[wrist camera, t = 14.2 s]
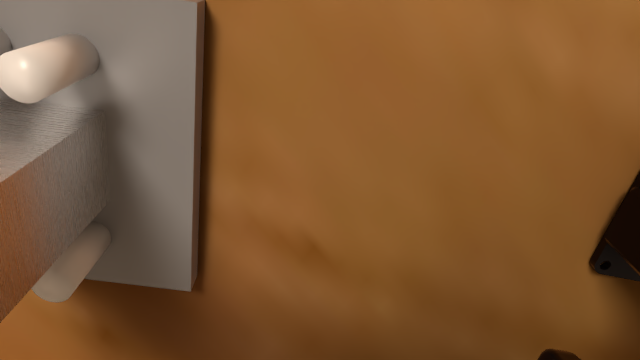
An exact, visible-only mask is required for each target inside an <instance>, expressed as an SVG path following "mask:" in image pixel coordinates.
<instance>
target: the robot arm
mask: <svg viewBox="0 0 640 360" xmlns="http://www.w3.org/2000/svg"><path fill="white" fill-rule="evenodd" d="M604 261H606V262H605V263H604V264H602V265H600V264H601V263H602V262H604ZM590 265H591V266H592V267H593V268H594V270H595V271H596V272H597V273H600V274H604V275H609V276H614V277H620V278H625V279H630V280H635V281H640V173H639V175H638V176H637V178H636V180H635V182H634V183H633V185H632V187H631V189H630V190H629V192H628V194H627V196H626V198H625V199H624V201H623V203H622V205H621V206H620V208H619V210H618V212H617V213H616V215H615V217H614V219H613V221H612V222H611V224H610V226H609V228H608V229H607V231H606V233H605V235H604V236H603V238H602V240H601V242H600V244H599V245H598V247H597V249H596V251H595V252H594V254H593V256H592V258H591V260H590ZM538 360H581V359H580V358H578V357H577V356H576V355H574V354H573V353H570V352H567V351H561V350H555V349H546V350H545V351H543V352H542V353H541V355H540V357H539V358H538Z"/></svg>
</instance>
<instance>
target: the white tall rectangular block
mask: <svg viewBox="0 0 640 360" xmlns="http://www.w3.org/2000/svg"><path fill="white" fill-rule="evenodd" d="M110 200H111V199H110V184H109V169H108V154H107V139H106V124H105V111H101V110H94V109H86V108H79V107H72V106H64V105H57V104H49V103H42V102H35V103H22V102H18V101H16V100H14V99H12V98H5V97H0V323H1V321H2V320H3V319H4V318H5V317H6V316H7V315H8V314H9V313H10V311H11V310H12V309H13V308H14V307H15V306H16V305H17V304H18V303H19V301H20V300H21V299H22V298H23V297H24V296H25V295H26V294H27V292H28V291H29V290H30V289H31V288H32V287H33V286H34V285H35V284H36V282H37V281H38V280H39V279H40V278H41V277H42V276H43V275H44V274H45V272H46V271H47V270H48V269H49V268H50V267H51V266H52V265H53V263H54V262H55V261H56V260H57V259H58V258H59V257H60V256H61V255H62V253H63V252H64V251H65V250H66V249H67V248H68V247H69V246H70V245H71V243H72V242H73V241H74V240H75V239H76V238H77V237H78V236H79V235H80V233H81V232H82V231H83V230H84V229H85V228H86V227H87V226H88V224H89V223H90V222H91V221H92V220H93V219H94V218H95V217H96V216H97V214H98V213H99V212H100V211H101V210H102V209H103V208H104V207H105V206H106V204H107V203H108V202H109V201H110Z"/></svg>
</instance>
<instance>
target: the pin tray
mask: <svg viewBox="0 0 640 360" xmlns="http://www.w3.org/2000/svg"><path fill="white" fill-rule="evenodd" d="M204 25H205V0H0V97H5V98H12V99H14V100H16V101H18V102H22V103H35V102H42V103H49V104H57V105H64V106H72V107H79V108H86V109H94V110H101V111H105V124H106V139H107V154H108V169H109V184H110V199H111V200H110V201H109V202H108V203H107V204H106V206H105V207H104V208H103V209H102V210H101V211H100V212H99V213H98V214H97V216H96V217H95V218H94V219H93V220H92V221H91V222H90V223H89V224H88V226H87V227H86V228H85V229H84V230H83V231H82V232H81V233H80V235H79V236H78V237H77V238H76V239H75V240H74V241H73V242H72V243H71V245H70V246H69V247H68V248H67V249H66V250H65V251H64V252H63V253H62V255H61V256H60V257H59V258H58V259H57V260H56V261H55V262H54V263H53V265H52V266H51V267H50V268H49V269H48V270H47V271H46V272H45V274H44V275H43V276H42V277H41V278H40V279H39V280H38V281H37V282H36V284H35V285H34V286H33V287H32V288H31V289H32V290H33V292H34V293H35V294H36V295H37V296H39V297H40V298H42V299H44V300H46V301H50V302H63V301H65V300H67V299H68V298H69V297H70V296H71V295H72V294H73V292H74V291H75V290H76V288H77V287H78V286H79V284H80V283H81V282H82V280H83V279H90V280H98V281H107V282H115V283H123V284H131V285H140V286H148V287H156V288H165V289H173V290H181V291H190V292H191V290H192V287H193V285H194V282H195V280H196V278H197V265H198V231H199V197H200V162H201V128H202V94H203V60H204Z"/></svg>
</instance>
